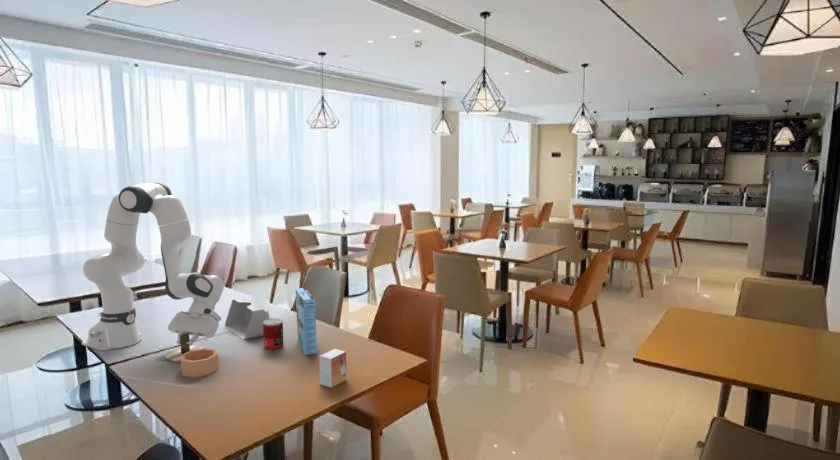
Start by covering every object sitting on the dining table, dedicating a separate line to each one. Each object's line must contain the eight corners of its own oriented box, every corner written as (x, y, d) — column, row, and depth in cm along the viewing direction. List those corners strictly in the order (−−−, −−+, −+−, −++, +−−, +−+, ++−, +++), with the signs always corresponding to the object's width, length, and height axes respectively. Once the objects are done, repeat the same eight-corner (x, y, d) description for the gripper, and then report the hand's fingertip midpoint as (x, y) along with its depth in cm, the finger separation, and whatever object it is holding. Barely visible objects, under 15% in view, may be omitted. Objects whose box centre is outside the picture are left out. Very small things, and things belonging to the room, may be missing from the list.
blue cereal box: (317, 354, 194) (315, 298, 191) (304, 356, 192) (302, 300, 189) (308, 338, 211) (307, 287, 208) (296, 339, 209) (295, 288, 206)
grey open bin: (279, 333, 218) (278, 306, 216) (244, 341, 208) (242, 313, 206) (257, 319, 237) (256, 294, 235) (224, 326, 227) (222, 300, 225)
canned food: (278, 351, 197) (277, 325, 195) (260, 349, 198) (259, 323, 197) (286, 344, 204) (286, 319, 203) (269, 342, 206) (268, 317, 204)
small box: (331, 388, 164) (330, 359, 163) (319, 384, 167) (318, 355, 166) (347, 379, 171) (346, 351, 170) (335, 376, 174) (334, 348, 173)
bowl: (174, 375, 174) (173, 359, 173) (197, 362, 185) (197, 347, 184) (202, 379, 171) (201, 363, 170) (224, 365, 182) (224, 350, 181)
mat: (155, 360, 186) (155, 359, 186) (183, 346, 201) (183, 345, 200) (187, 365, 182) (187, 364, 182) (214, 350, 197) (214, 349, 197)
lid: (157, 359, 187) (155, 339, 185) (183, 346, 200) (182, 327, 199) (187, 363, 183) (186, 343, 182) (212, 350, 196) (211, 331, 195)
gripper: (174, 306, 198) (157, 338, 190) (217, 311, 193) (201, 343, 185) (183, 314, 203) (166, 344, 195) (224, 318, 198) (209, 350, 190)
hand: (183, 344), depth 190 cm, fingers closed on lid, 3 cm apart
